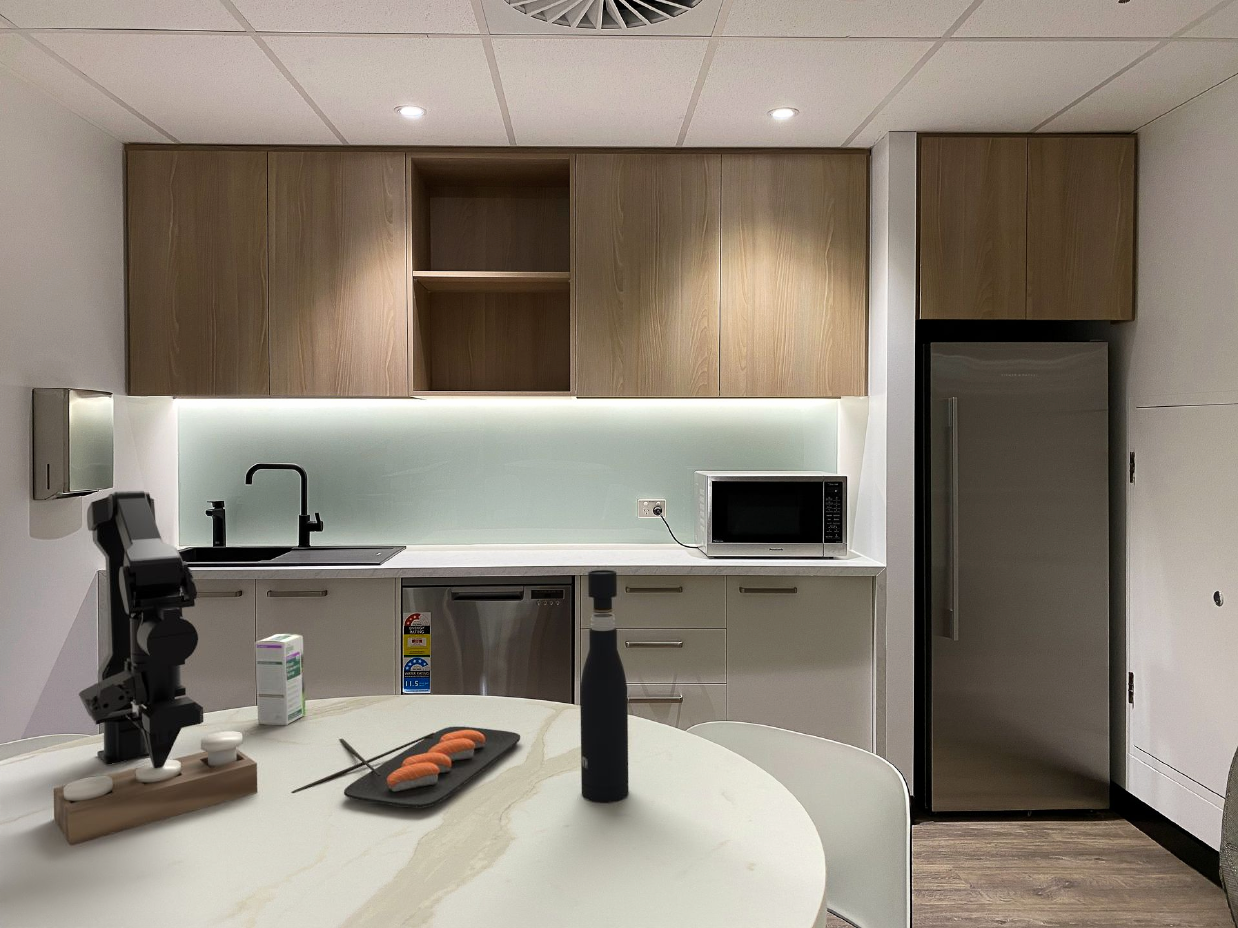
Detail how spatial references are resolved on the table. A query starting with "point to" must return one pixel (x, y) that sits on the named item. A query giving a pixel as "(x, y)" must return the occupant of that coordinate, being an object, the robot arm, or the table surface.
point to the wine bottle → (603, 701)
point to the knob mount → (154, 797)
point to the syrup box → (280, 679)
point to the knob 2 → (221, 747)
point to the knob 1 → (88, 788)
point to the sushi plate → (427, 767)
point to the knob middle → (158, 772)
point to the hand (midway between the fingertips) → (158, 766)
